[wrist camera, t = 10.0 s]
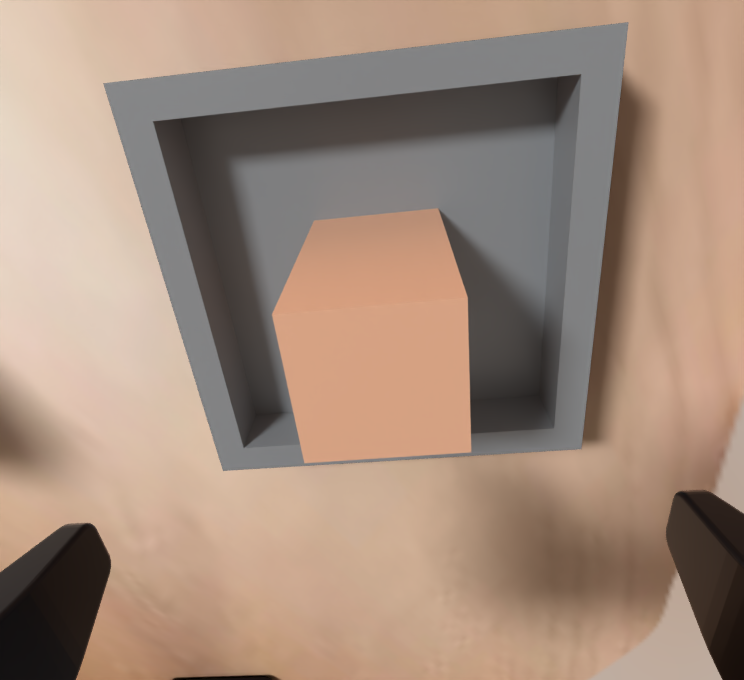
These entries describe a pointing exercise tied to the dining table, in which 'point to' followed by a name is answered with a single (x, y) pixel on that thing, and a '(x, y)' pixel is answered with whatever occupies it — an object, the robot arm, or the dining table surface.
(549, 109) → the tray
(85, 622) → the robot arm
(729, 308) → the dining table surface
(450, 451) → the block
